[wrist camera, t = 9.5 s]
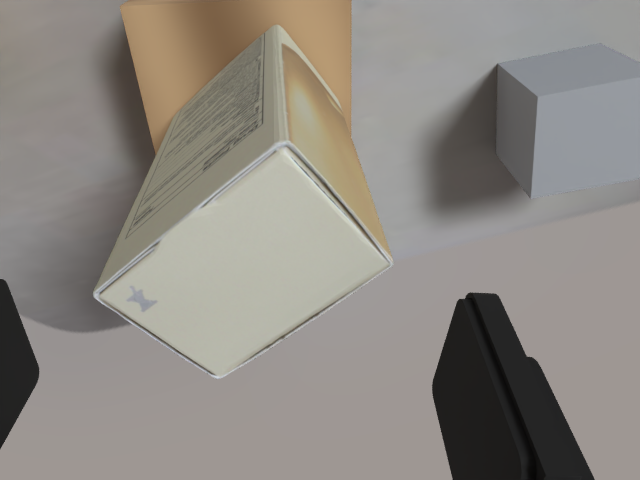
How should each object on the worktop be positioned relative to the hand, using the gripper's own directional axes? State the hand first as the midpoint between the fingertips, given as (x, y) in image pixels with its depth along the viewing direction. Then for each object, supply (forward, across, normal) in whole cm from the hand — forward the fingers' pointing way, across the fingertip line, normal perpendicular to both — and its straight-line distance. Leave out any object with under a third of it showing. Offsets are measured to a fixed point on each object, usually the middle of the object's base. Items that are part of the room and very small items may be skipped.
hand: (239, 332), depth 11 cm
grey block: (+18, -14, 0) cm, 22 cm away
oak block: (+18, +1, 0) cm, 18 cm away
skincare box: (+14, +1, 0) cm, 14 cm away
